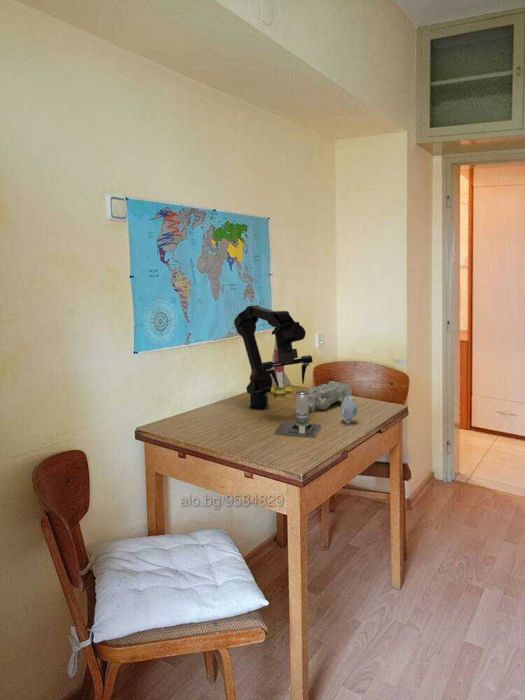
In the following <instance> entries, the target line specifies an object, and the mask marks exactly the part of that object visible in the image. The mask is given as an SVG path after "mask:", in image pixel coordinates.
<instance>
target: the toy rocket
mask: <svg viewBox="0 0 525 700" xmlns="http://www.w3.org/2000/svg"><path fill="white" fill-rule="evenodd" d="M273 347H274V348H273V352H272V362H273V363H275V362H279V360H278V351H277V345H276V338H275V340H274V346H273ZM273 370H275V373H276V376H277V380H278V383H279V388H278V387H277V385H276V383H275V380H274V378H273V377H272V375H271V377H272V387H271V391H270V392H267V396H268V398H275V400H286V399H285V398H289V397H290V398H293V397H294V396H293V394H292V392H293V389H292V387H291V386H293V384H292V382H291V381H290V379H289V377H288V375H287V374H286V372H285V366H279V367H274V368H273ZM275 395H276V396H275Z"/></svg>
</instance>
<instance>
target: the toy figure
mask: <svg viewBox="0 0 525 700" xmlns="http://www.w3.org/2000/svg"><path fill="white" fill-rule="evenodd" d="M339 412H340V414H341V415H340V416H342V418H344V419H345V420H344V423H345V424H348V425H350V424H351V423H353V422H354V420H353V419H354V418H355V417H356V415H357V413H358V407H357V404H356V401H355V398H354V397H353V396H352V390H351V389H350V391H349V392H347V394H346V397H345V398H344V400H343V401H342V402H341V405H340V408H339Z"/></svg>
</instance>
